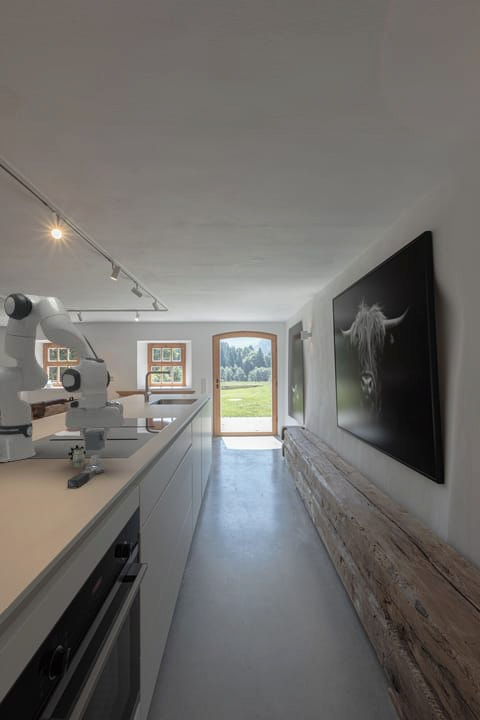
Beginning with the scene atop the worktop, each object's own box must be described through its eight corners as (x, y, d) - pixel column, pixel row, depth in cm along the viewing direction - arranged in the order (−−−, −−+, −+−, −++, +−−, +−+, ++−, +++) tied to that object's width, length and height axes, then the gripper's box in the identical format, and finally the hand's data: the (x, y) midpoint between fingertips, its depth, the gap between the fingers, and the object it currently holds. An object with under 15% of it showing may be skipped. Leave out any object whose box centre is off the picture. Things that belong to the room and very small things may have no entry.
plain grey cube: (85, 450, 125) (85, 432, 125) (91, 447, 130) (91, 430, 130) (99, 450, 125) (98, 432, 125) (104, 447, 130) (104, 429, 130)
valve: (88, 466, 135) (85, 459, 146) (88, 449, 136) (85, 443, 146) (69, 469, 132) (68, 462, 143) (69, 451, 132) (68, 445, 143)
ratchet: (62, 488, 111) (62, 469, 111) (90, 469, 131) (90, 453, 131) (82, 488, 111) (82, 469, 111) (107, 469, 131) (107, 453, 131)
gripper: (126, 400, 131) (126, 438, 131) (71, 401, 131) (71, 438, 131) (120, 402, 125) (120, 441, 124) (62, 403, 125) (63, 442, 125)
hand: (95, 440), depth 128 cm, fingers closed on plain grey cube, 5 cm apart
